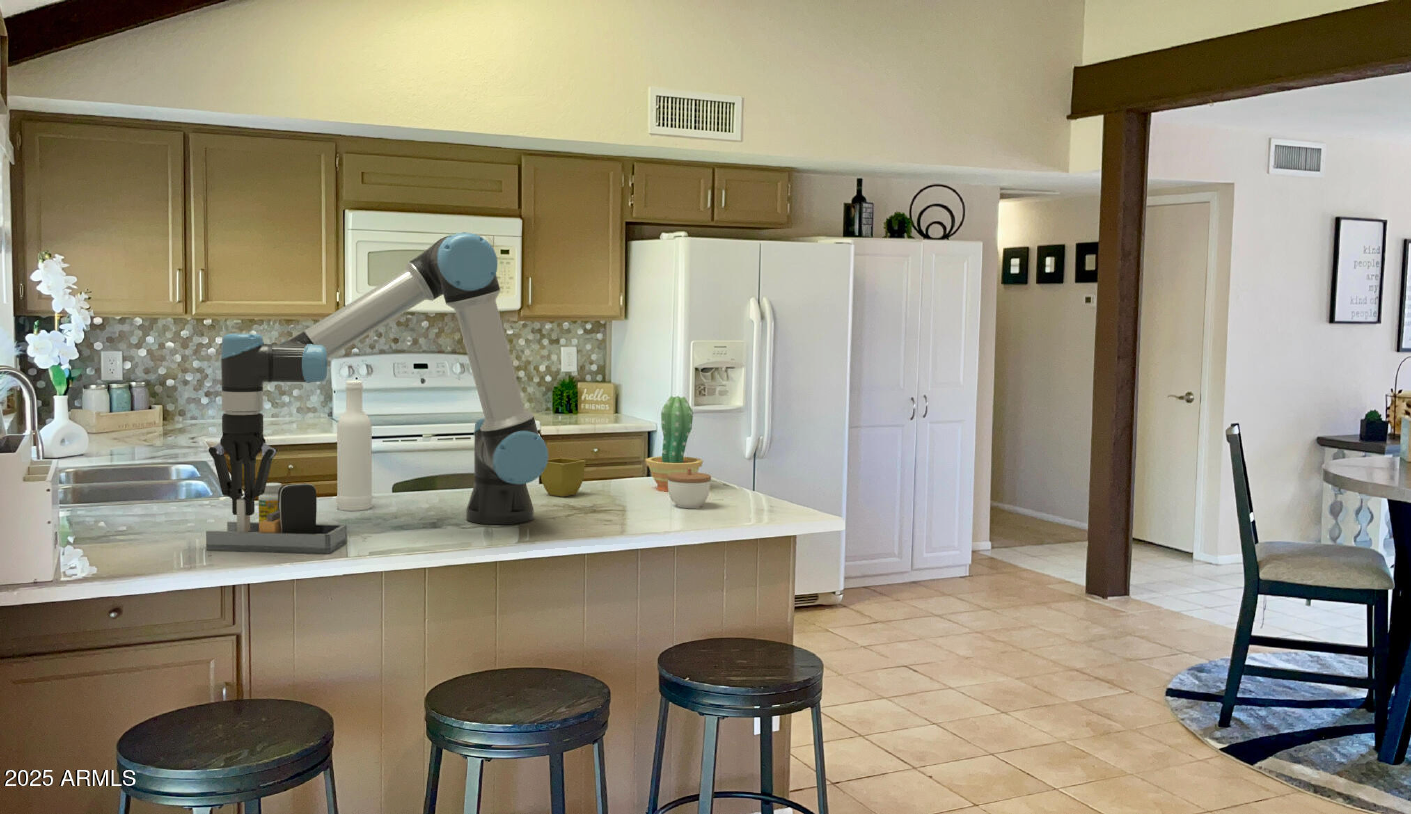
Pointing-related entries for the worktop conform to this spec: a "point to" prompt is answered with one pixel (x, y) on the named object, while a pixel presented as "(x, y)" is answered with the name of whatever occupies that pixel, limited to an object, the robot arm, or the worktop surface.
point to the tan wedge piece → (271, 523)
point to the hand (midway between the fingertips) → (243, 531)
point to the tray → (277, 540)
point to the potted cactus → (673, 442)
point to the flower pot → (563, 476)
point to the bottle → (354, 453)
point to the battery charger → (297, 508)
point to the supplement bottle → (268, 500)
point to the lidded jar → (688, 488)
